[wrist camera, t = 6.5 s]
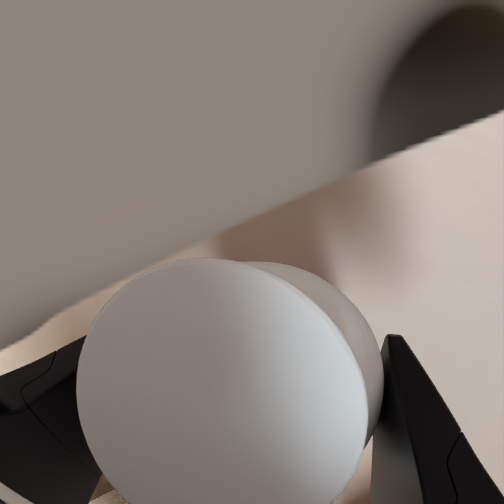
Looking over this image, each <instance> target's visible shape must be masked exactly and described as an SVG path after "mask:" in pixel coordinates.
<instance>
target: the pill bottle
mask: <svg viewBox="0 0 504 504" xmlns="http://www.w3.org/2000/svg"><path fill="white" fill-rule="evenodd" d="M383 394H384V371H383V364H382V358H381V354H380V350H379V347H378V344H377V341H376V339H375V336H374V334H373V332H372V330H371V328H370V326H369V324H368V323H367V321H366V319H365V318H364V316H363V315H362V314H361V312H360V311H359V310H358V308H357V307H356V306H355V305H354V304H353V303H352V302H351V301H350V300H349V299H348V297H346V296H345V295H344V294H343V293H342V292H341V291H340V290H338V289H337V288H336V287H334V286H333V285H331V284H330V283H329V282H327V281H325V280H324V279H322V278H321V277H319V276H317V275H315V274H313V273H311V272H308V271H306V270H303V269H301V268H298V267H295V266H291V265H286V264H281V263H275V262H258V261H247V262H238V261H234V260H228V259H215V258H197V259H187V260H179V261H176V262H172V263H168V264H165V265H162V266H160V267H157V268H154V269H152V270H150V271H148V272H146V273H144V274H142V275H140V276H138V277H136V278H135V279H134V280H132V281H131V282H129V283H128V284H126V285H125V286H124V287H123V288H122V289H120V290H119V291H118V292H117V293H116V294H115V295H114V296H113V297H112V298H111V299H110V300H109V301H108V302H107V304H106V305H105V306H104V307H103V309H102V310H101V311H100V313H99V314H98V315H97V317H96V318H95V320H94V321H93V323H92V325H91V328H90V330H89V331H88V334H87V336H86V339H85V342H84V344H83V347H82V351H81V354H80V358H79V364H78V370H77V383H76V395H77V407H78V413H79V419H80V423H81V426H82V430H83V433H84V436H85V439H86V441H87V444H88V446H89V449H90V451H91V453H92V455H93V457H94V459H95V461H96V463H97V464H98V466H99V468H100V469H101V471H102V472H103V474H104V475H105V477H106V478H107V480H108V481H109V482H110V484H111V485H112V486H113V487H114V489H115V490H116V491H117V492H118V493H119V494H120V495H121V496H122V497H123V498H124V499H125V500H126V501H127V502H128V503H129V504H332V503H333V502H334V501H335V500H336V499H337V498H338V497H339V495H340V494H341V493H342V492H343V490H344V489H345V487H346V486H347V484H348V483H349V481H350V480H351V478H352V476H353V475H354V472H355V470H356V468H357V465H358V463H359V460H360V458H361V455H362V452H363V450H364V448H365V447H366V445H367V444H368V442H369V440H370V438H371V436H372V434H373V432H374V430H375V427H376V425H377V422H378V420H379V416H380V412H381V408H382V402H383Z"/></svg>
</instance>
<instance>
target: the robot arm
mask: <svg viewBox="0 0 504 504" xmlns="http://www.w3.org/2000/svg"><path fill="white" fill-rule="evenodd" d="M86 336H87V335H86ZM86 336H84V337H82V338H80V339H78V340H76V341H74V342H72V343H70V344H68V345H66V346H64V347H62V348H60V349H58V350H57V351H54V352H52V353H51V354H49V355H47V356H45V357H43V358H41V359H39V360H37V361H34V362H32V363H30V364H28V365H25V366H23V367H21V368H18V369H16V370H14V371H11V372H9V373H6V374H4V375H1V376H0V504H88V503H89V501H90V499H91V497H92V495H93V493H94V491H95V489H96V487H97V485H98V483H99V481H100V477H101V476H102V474H103V472H102V471H101V469H100V468H99V466H98V464H97V463H96V461H95V459H94V457H93V455H92V453H91V451H90V449H89V446H88V444H87V441H86V439H85V436H84V433H83V430H82V426H81V423H80V419H79V413H78V407H77V395H76V383H77V370H78V364H79V358H80V354H81V351H82V347H83V344H84V342H85V339H86ZM380 354H381V358H382V364H383V371H384V394H383V402H382V408H381V412H380V416H379V420H378V422H377V425H376V427H375V430H374V432H373V451H372V472H371V487H370V500H369V504H504V496H503V495H502V493H501V492H500V490H499V489H498V487H497V486H496V484H495V483H494V482H493V480H492V479H491V477H490V476H489V474H488V473H487V471H486V470H485V468H484V467H483V465H482V464H481V462H480V461H479V459H478V458H477V456H476V454H475V453H474V451H473V449H472V447H471V446H470V444H469V442H468V441H467V439H466V437H465V435H464V434H463V432H461V429H460V427H459V425H458V423H457V422H456V420H455V418H454V417H453V415H452V413H451V412H450V410H449V408H448V407H447V405H446V403H445V402H444V400H443V398H442V397H441V395H440V394H439V392H438V390H437V389H436V387H435V385H434V384H433V382H432V381H431V379H430V378H429V376H428V374H427V373H426V371H425V370H424V368H423V367H422V365H421V364H420V362H419V361H418V359H417V358H416V356H415V354H414V353H413V351H412V350H411V348H410V347H409V345H408V344H407V343H406V341H405V340H404V338H403V337H402V336H401V335H395V334H388V335H386V337H385V339H384V343H383V346H382V349H381V352H380Z"/></svg>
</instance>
